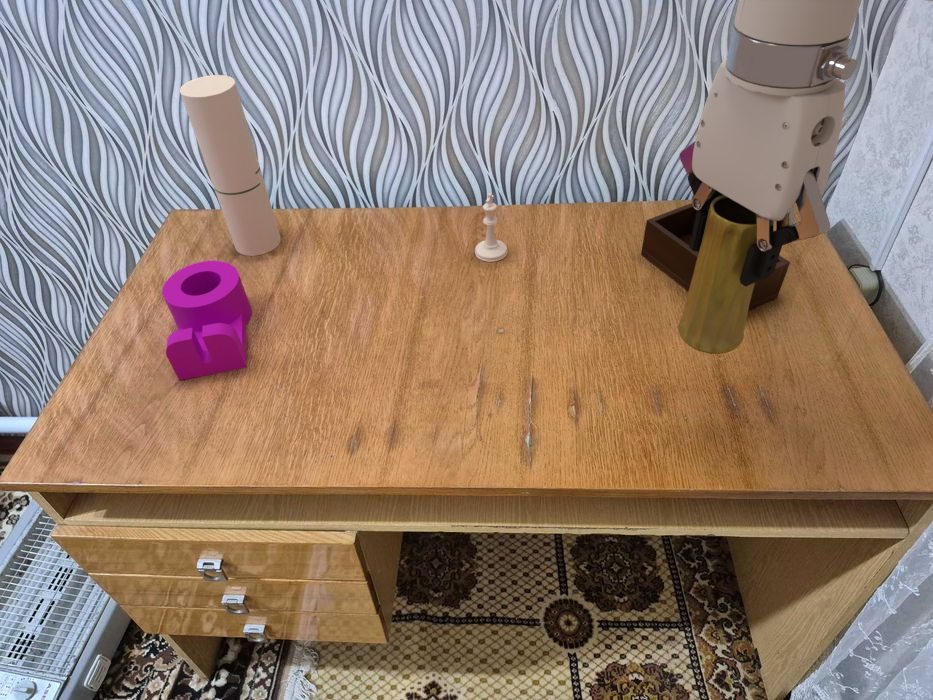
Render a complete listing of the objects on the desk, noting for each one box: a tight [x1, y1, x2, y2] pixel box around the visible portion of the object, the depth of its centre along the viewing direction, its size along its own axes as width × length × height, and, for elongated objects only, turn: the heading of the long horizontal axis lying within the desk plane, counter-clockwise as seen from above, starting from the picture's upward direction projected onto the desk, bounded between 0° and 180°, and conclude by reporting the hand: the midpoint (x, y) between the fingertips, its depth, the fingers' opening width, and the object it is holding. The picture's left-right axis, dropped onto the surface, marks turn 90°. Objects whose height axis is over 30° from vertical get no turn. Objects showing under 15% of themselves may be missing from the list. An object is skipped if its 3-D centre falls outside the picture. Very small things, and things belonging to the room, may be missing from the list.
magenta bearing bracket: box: [161, 260, 253, 381], centre depth 88 cm, size 16×10×6 cm, turn 14°
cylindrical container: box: [179, 74, 282, 257], centre depth 96 cm, size 7×7×25 cm
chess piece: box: [474, 192, 509, 263], centre depth 96 cm, size 5×5×10 cm
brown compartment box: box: [640, 202, 791, 312], centre depth 91 cm, size 9×17×6 cm, turn 28°
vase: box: [677, 195, 775, 355], centre depth 60 cm, size 6×6×14 cm
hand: (729, 260), depth 59 cm, fingers closed on vase, 5 cm apart
